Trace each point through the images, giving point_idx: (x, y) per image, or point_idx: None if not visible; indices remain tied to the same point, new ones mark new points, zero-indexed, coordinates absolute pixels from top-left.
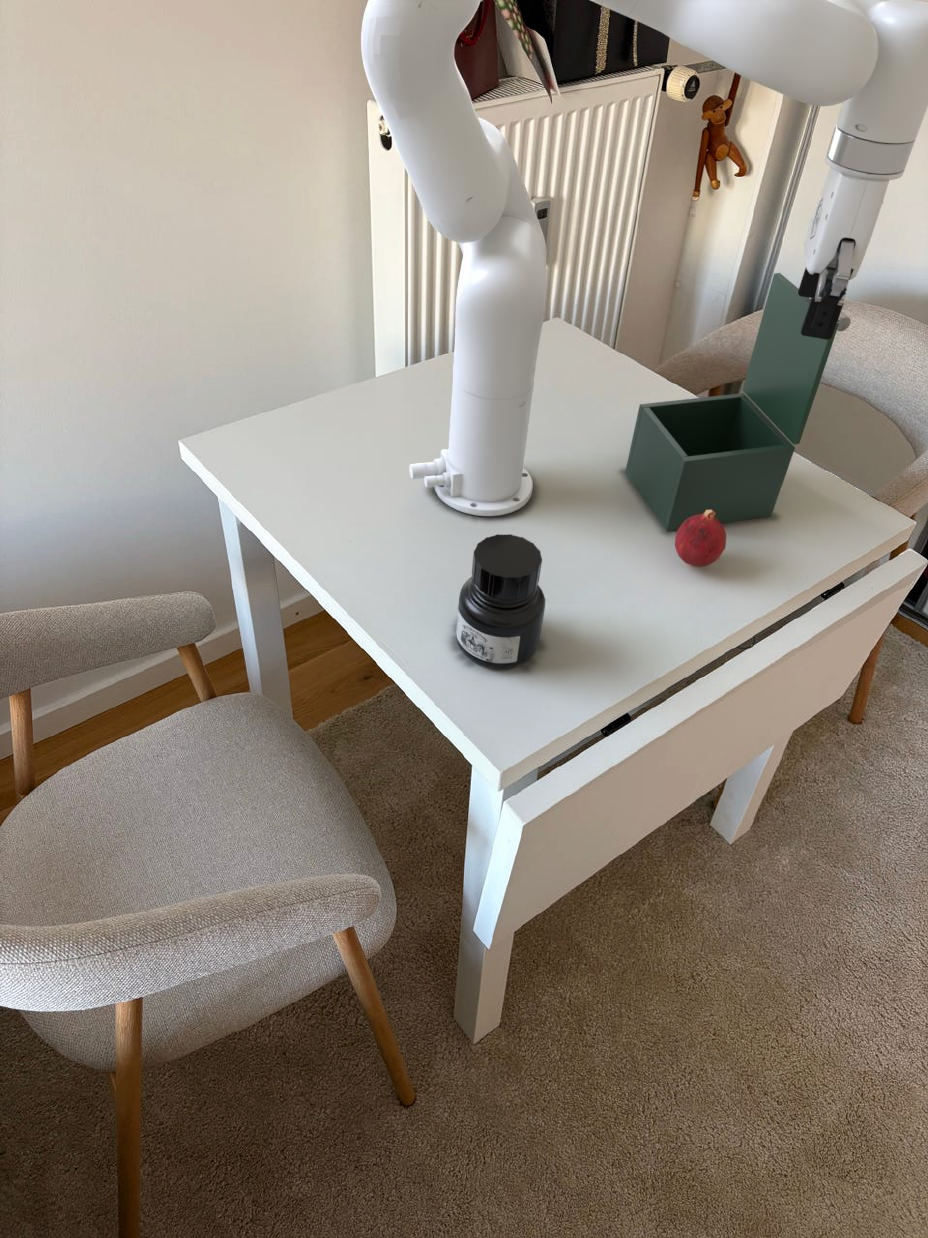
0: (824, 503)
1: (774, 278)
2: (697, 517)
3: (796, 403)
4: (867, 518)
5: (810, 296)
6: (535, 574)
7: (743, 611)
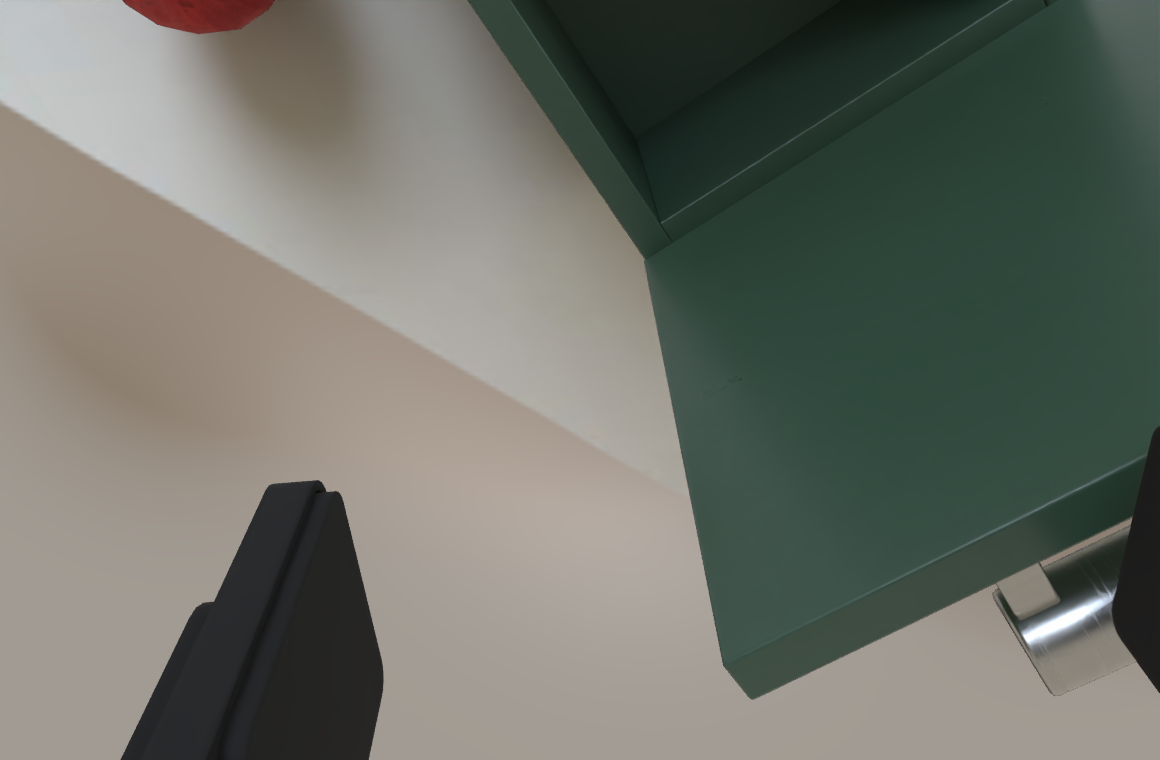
0: None
1: None
2: None
3: (723, 287)
4: None
5: (1135, 515)
6: None
7: (92, 122)
